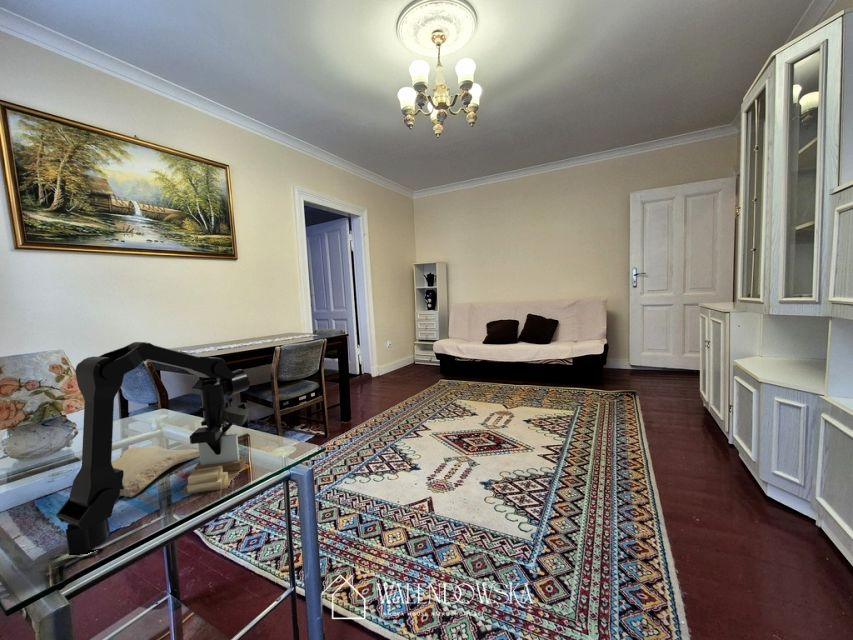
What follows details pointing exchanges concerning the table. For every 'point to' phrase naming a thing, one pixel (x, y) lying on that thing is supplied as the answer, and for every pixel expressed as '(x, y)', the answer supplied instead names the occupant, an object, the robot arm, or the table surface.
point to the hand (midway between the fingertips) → (219, 453)
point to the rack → (228, 467)
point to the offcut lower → (209, 484)
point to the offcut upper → (205, 475)
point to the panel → (227, 451)
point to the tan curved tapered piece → (147, 465)
